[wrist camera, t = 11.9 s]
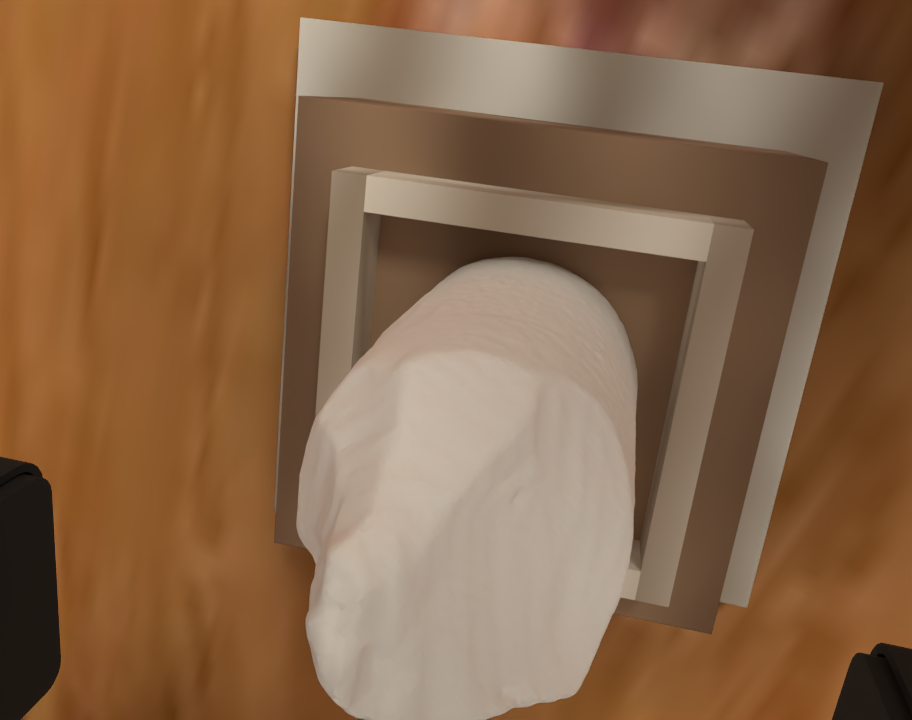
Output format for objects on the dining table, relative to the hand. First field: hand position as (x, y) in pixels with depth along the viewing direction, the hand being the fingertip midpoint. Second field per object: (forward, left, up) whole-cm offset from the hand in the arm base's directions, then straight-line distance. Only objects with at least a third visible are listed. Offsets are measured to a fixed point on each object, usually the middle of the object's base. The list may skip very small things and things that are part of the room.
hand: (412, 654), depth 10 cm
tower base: (0, 0, -18) cm, 18 cm away
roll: (0, 0, -12) cm, 12 cm away
